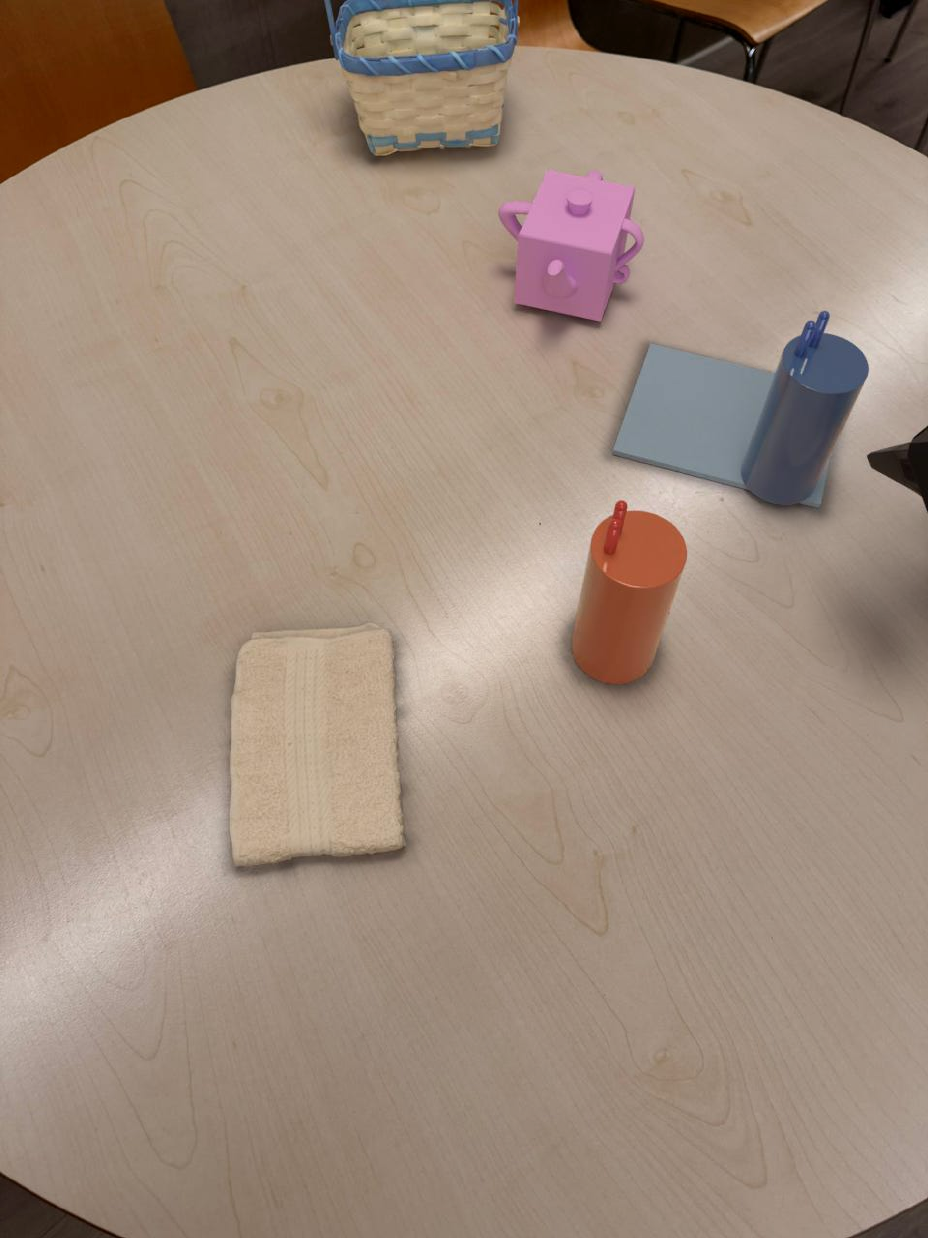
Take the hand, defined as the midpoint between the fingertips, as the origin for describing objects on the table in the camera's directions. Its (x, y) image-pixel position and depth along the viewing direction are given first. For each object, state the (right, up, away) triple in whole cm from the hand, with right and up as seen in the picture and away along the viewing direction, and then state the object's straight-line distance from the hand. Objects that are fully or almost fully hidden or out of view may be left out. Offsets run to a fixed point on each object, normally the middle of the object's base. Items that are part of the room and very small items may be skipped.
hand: (909, 428), depth 74 cm
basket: (-37, +41, +41) cm, 68 cm away
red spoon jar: (-21, -16, +5) cm, 27 cm away
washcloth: (-43, -23, 0) cm, 49 cm away
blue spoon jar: (-5, -1, +13) cm, 14 cm away
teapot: (-23, +18, +27) cm, 39 cm away
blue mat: (-8, +4, +17) cm, 20 cm away
